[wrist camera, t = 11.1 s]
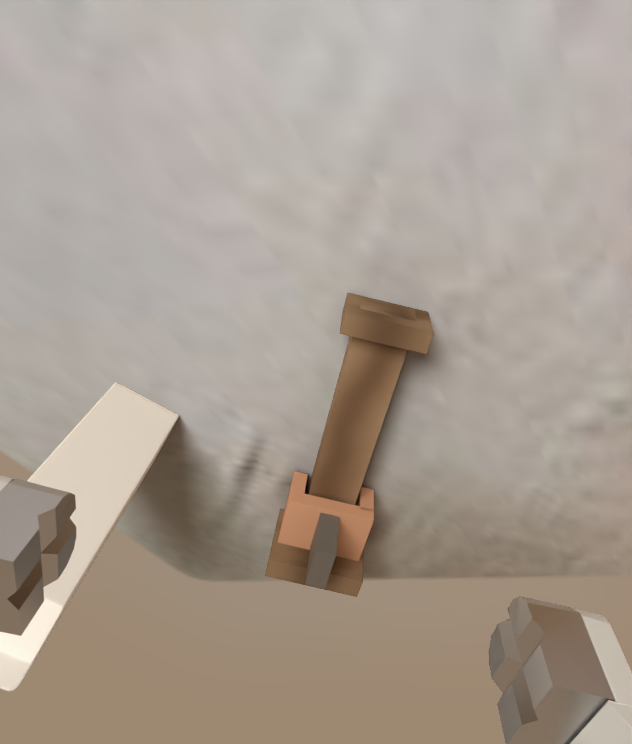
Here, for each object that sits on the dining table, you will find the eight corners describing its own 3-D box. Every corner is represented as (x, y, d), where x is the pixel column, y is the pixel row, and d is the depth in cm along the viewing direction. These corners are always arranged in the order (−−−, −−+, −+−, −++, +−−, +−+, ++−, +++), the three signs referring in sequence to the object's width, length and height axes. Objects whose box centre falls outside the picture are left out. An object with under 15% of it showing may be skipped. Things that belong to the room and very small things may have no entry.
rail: (441, 315, 37) (452, 351, 32) (358, 542, 49) (356, 596, 44) (334, 289, 37) (327, 321, 32) (276, 523, 49) (265, 575, 44)
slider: (373, 489, 45) (374, 558, 39) (359, 529, 48) (357, 601, 41) (294, 471, 45) (280, 537, 38) (284, 512, 48) (269, 580, 41)
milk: (116, 380, 43) (-96, 611, 24) (181, 415, 44) (30, 663, 25) (93, 430, 46) (-114, 674, 26) (155, 462, 47) (0, 719, 27)
